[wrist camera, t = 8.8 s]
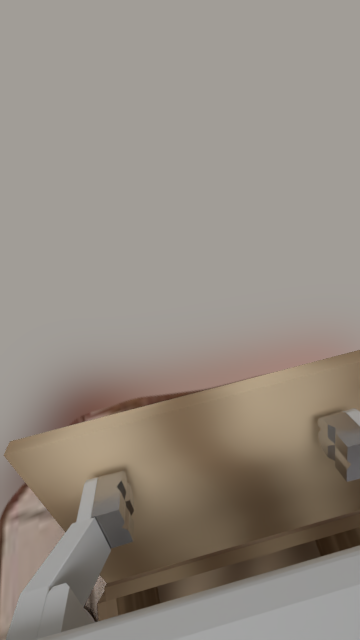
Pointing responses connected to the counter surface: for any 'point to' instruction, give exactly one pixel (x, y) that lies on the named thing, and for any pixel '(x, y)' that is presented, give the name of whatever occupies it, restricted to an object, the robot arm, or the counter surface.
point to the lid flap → (205, 464)
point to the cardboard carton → (229, 565)
